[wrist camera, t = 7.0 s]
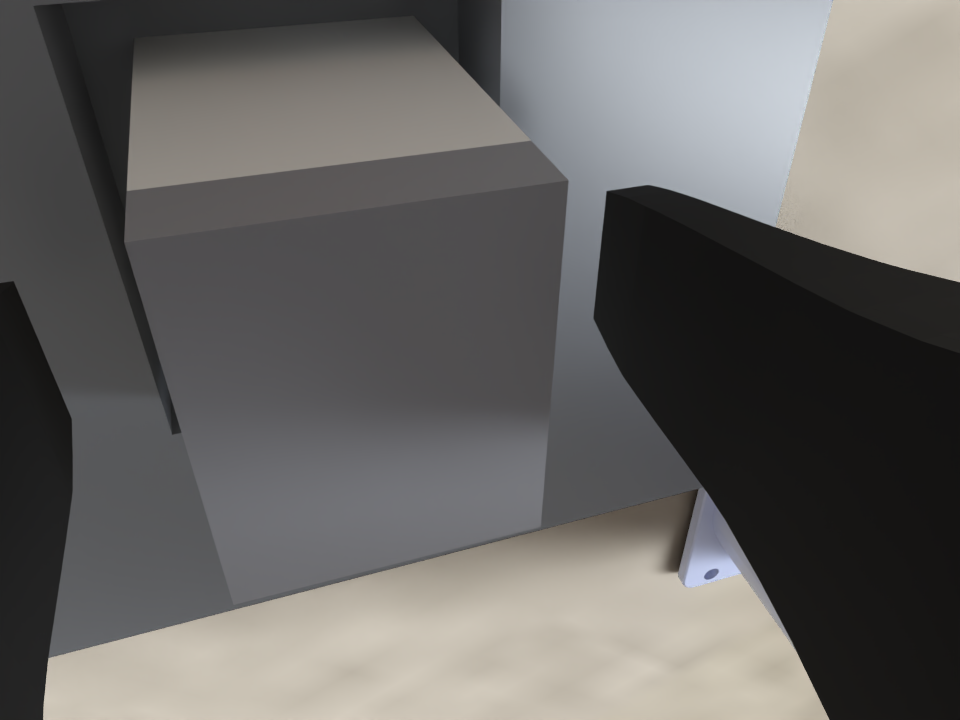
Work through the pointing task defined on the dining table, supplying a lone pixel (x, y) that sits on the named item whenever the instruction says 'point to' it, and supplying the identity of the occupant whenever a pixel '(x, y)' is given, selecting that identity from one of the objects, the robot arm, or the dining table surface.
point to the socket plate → (527, 102)
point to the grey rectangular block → (344, 293)
